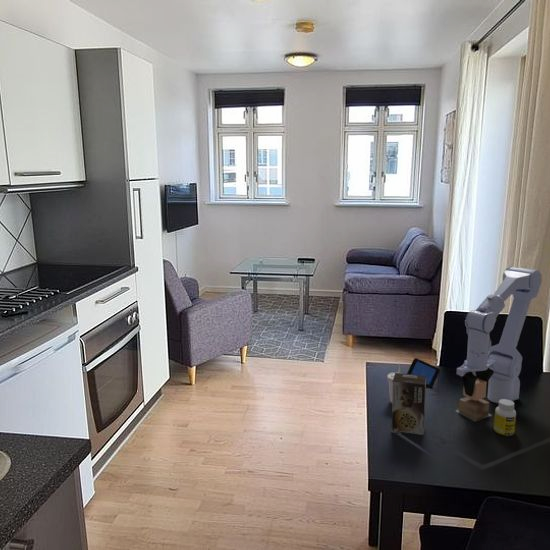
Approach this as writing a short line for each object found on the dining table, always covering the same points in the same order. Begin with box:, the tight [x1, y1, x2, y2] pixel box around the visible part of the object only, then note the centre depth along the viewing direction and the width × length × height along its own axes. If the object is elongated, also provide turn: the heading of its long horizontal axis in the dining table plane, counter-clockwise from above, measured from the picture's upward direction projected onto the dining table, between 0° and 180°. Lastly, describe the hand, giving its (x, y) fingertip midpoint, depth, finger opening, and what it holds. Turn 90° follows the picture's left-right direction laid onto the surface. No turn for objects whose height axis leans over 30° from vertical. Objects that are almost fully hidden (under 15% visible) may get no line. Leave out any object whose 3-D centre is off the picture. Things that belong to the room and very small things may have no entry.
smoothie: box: [386, 362, 404, 404], centre depth 159 cm, size 6×6×14 cm
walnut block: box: [458, 396, 490, 420], centre depth 152 cm, size 6×6×4 cm
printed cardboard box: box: [391, 372, 427, 436], centre depth 143 cm, size 9×6×16 cm
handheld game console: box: [406, 357, 441, 390], centre depth 174 cm, size 12×11×7 cm
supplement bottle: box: [493, 399, 517, 437], centre depth 140 cm, size 5×5×10 cm
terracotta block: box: [462, 378, 488, 401], centre depth 150 cm, size 4×4×5 cm
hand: (474, 393), depth 151 cm, fingers closed on terracotta block, 4 cm apart
